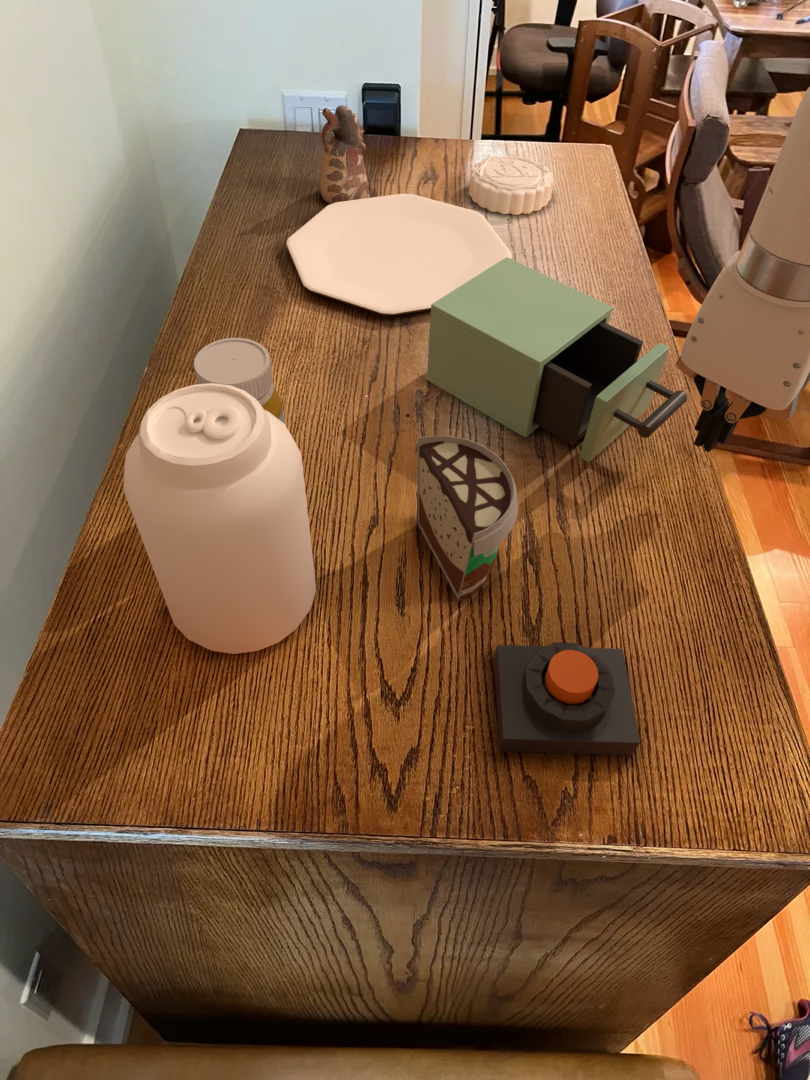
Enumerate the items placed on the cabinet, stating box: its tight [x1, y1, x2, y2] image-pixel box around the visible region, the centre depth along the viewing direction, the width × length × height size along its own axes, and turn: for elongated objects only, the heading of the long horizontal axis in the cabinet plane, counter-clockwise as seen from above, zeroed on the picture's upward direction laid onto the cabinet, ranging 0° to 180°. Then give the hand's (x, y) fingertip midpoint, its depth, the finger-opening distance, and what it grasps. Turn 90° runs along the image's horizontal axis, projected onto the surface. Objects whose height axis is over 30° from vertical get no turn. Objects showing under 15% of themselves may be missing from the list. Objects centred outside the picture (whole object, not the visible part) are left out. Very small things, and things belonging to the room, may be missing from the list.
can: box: [123, 383, 317, 655], centre depth 58 cm, size 12×12×20 cm
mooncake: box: [468, 154, 555, 216], centre depth 111 cm, size 12×12×4 cm
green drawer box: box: [426, 257, 613, 439], centre depth 81 cm, size 14×13×10 cm
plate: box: [285, 193, 513, 317], centre depth 100 cm, size 28×28×2 cm
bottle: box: [193, 337, 285, 424], centre depth 68 cm, size 7×7×15 cm
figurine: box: [318, 104, 371, 205], centre depth 107 cm, size 7×7×12 cm
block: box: [493, 642, 641, 757], centre depth 58 cm, size 10×8×4 cm
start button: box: [545, 650, 598, 704], centre depth 56 cm, size 4×4×2 cm
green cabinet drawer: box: [532, 321, 688, 463], centre depth 77 cm, size 17×11×8 cm
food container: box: [414, 434, 519, 602], centre depth 66 cm, size 12×6×10 cm, turn 22°
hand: (708, 440), depth 72 cm, fingers closed
